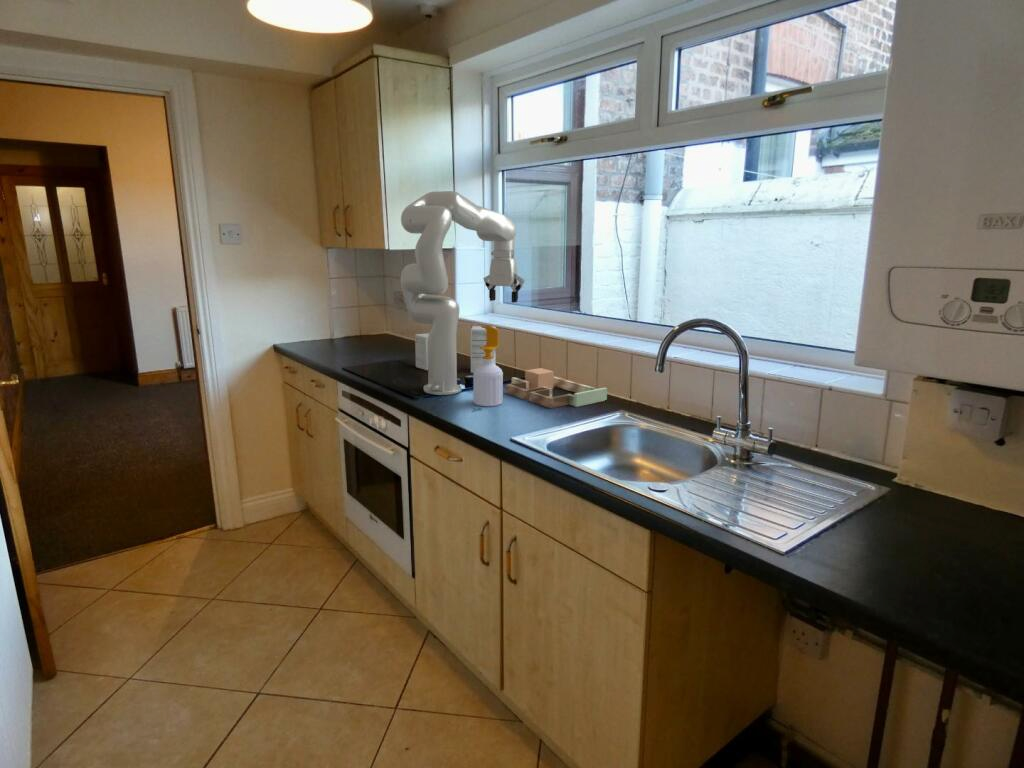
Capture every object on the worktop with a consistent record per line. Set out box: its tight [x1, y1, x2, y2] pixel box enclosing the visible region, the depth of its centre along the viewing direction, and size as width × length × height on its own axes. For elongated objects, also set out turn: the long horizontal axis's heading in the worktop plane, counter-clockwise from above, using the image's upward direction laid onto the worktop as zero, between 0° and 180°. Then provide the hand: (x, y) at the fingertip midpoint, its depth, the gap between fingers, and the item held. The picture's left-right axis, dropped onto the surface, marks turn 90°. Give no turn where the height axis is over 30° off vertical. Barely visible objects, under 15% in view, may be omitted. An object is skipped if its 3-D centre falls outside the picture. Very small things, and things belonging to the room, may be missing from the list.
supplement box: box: [470, 325, 497, 374], centre depth 240 cm, size 10×9×17 cm
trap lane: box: [505, 376, 598, 409], centre depth 208 cm, size 31×21×3 cm
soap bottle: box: [472, 325, 504, 408], centre depth 194 cm, size 9×9×25 cm
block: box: [524, 367, 555, 389], centre depth 216 cm, size 7×7×6 cm
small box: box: [414, 332, 430, 371], centre depth 244 cm, size 8×6×13 cm
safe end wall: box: [573, 387, 608, 408], centre depth 197 cm, size 1×13×4 cm, turn 128°
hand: (503, 301), depth 237 cm, fingers open, 9 cm apart
